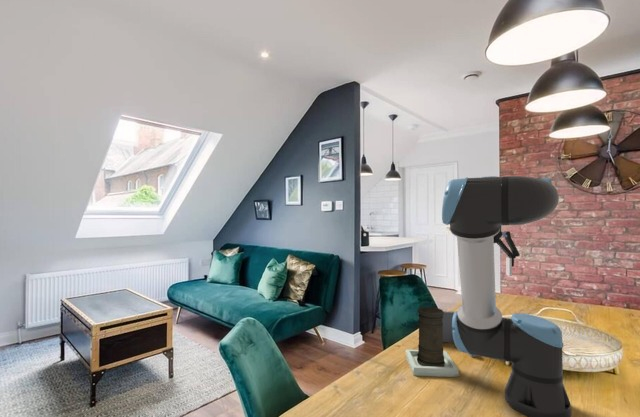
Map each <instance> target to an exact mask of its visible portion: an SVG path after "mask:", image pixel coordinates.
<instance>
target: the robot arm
mask: <svg viewBox="0 0 640 417" xmlns="http://www.w3.org/2000/svg"><path fill="white" fill-rule="evenodd" d="M559 195H560V194H559V191H558V190H557V188H556V187H555V185H554V184H553V183H552V179H551V178H550V177H531V176H523V175H522V176H521V175H510V176H490V175H489V176H482V177H464V178H455V179H451V180H449V181H448V182H447V184H446V186H445V190H444V193H443V199H442V208H441V221H442V224H443V225H446V226H449V228H450V229H449V230H450V232H451V234H452V235H453V236H455V237H456V241H457V243H456V244H457V253H458V265H459V266H458V267H459V280H460V292H461V304H460V306H459V307H458V308H457V310H456V311H453V312H454V314H453V318H452V328H453V331H452V332H453V339H454V342H453V343H454V345H455V347H456V349H457V350H458V351H460V352H461V353H465V354H467V355H469V354H470V355H475V357H476V356H477V357H482V358H488V359H493V360H496V361H497V360H499V361H502V362H508V363H511V372H510V374H509V377H508V380H507V382H506V383H505V384H506V385H505V388H504V400H505V402H506V403H507V404H508V406H510V407H511V408H512V409H513V410H515V411H517V412H519V413H521V414H522V415H525V416H527V417H572V404H571V401H570V398H569V396H568V393H567V390H566V387H565V384H564V378H563V377H564V375H563V374H564V373H563V372H564V371H563V369H564V368H563V367H564V366H563V363H564V362H563V361H564V360H563V348H564V347H565V345H564V342H563V332H562V329H561V328H560V326H558V325H557V324H556V323H554V322H552V321H550V320H548V319H546V318H544V317H541V316H537V315H533V314H528V313H522V312H521V313H520V312H519V313H517V312H516V313H513V314H512V315H511V316H510V317H509V318H507V317H503V313H502V311H501V310H500V308H498V307H497V304H496V303H497V302H496V300H497V298H496V274H495V273H496V272H495V267H496V266H495V244H497V246H498V247H499V248H500V249H501V250H502V251H503V252H504V253H505V254H506V255H507V257H505V275H506V276H509V277H513V276H512V275H513V274H512V270H513V267H515V259H516V258H517V257H520V251H518V248H517V246H516V244H515V242H514V240H513V238H512V235H511V231H509V230H508V231H507V230H505V231H502V226H520V225H527V224H531V223H534V222H537V221H540V220H542V219H544V218H546V217H548V216H549V215H551V214H552V213H553V212H554V211H555V210H556V208H557V206H558V205H559V202H560V196H559ZM502 236H503V238H504V240H505V241H506V244H507V245H508V246H506V244H505V243H504V241H503V240H502V239H501V237H502ZM508 247H509V248H508ZM470 355H469V356H470Z"/></svg>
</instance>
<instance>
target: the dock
mask: <svg viewBox="0 0 640 417" xmlns="http://www.w3.org/2000/svg"><path fill="white" fill-rule="evenodd" d="M443 312H444V315H443V319H442V323H443V343H454V339H453V332H452V331H453V328H452V318H453V314H454V312H455V311H449V310H448V311H447V310H446V311H444V310H443ZM468 355H469V356H470V358H476V355H470V354H468Z"/></svg>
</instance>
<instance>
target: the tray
mask: <svg viewBox="0 0 640 417" xmlns="http://www.w3.org/2000/svg"><path fill="white" fill-rule="evenodd" d="M418 352H419V350H418V349H406V348H405V358H406V361H407V363H408V366H409V368H410V370H411V372H412V375H413V376H418V377H419V376H420V377H442V378H443V377H447V378H459V373H460V372H459V367H458V366H457V365H456V364H455V362H454V361H453V359H452V358H451V357H450V355H449V353H447V351H446V350H443V356H444V358H445V359H444V361H445V366H444V367H431V366H421V365H420V364H419V363H418V362H417V357H418V356H417V354H418Z"/></svg>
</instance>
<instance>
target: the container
mask: <svg viewBox="0 0 640 417" xmlns="http://www.w3.org/2000/svg"><path fill="white" fill-rule="evenodd" d="M443 311H444V310H443V309H441V308H438V307H433V306H431V307H430V306H423V307H421V306H420V307H419V308H418V309H417V313H418V346H417V347H418V349H417V350H419V352H418V354H417V356H418V357H417V362H418V363H419V364H420V365H421V366H431V367H444V366H445V361H444V359H445V358H444V356H443V351H444V342H443V323H442V319H443V315H444V312H443Z"/></svg>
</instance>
